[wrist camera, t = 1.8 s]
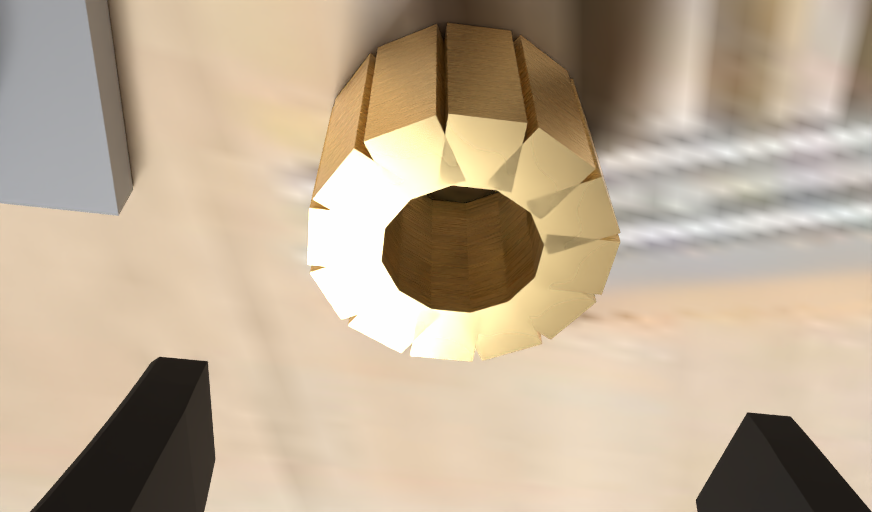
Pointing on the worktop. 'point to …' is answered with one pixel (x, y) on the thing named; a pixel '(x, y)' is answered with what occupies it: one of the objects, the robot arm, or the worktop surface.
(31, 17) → the gear board
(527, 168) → the brass gear
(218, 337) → the worktop surface
